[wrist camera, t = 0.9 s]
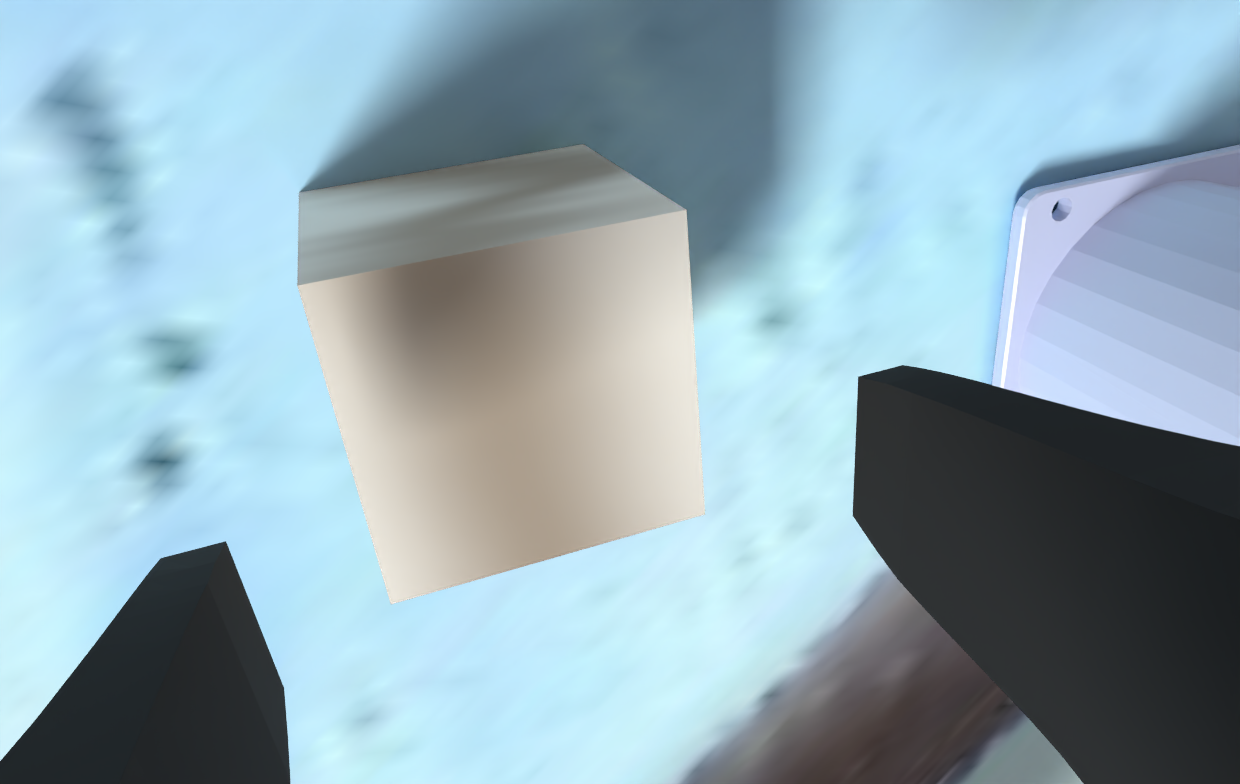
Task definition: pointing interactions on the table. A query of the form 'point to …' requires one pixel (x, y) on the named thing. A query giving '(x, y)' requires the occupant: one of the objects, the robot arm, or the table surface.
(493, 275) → the cream cube
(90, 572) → the table surface
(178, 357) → the table surface
